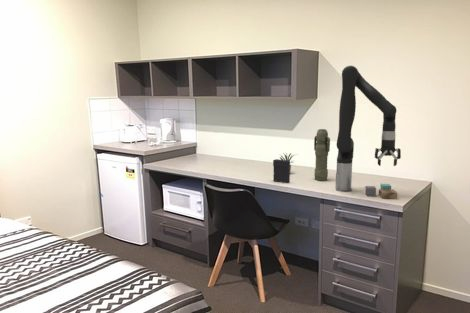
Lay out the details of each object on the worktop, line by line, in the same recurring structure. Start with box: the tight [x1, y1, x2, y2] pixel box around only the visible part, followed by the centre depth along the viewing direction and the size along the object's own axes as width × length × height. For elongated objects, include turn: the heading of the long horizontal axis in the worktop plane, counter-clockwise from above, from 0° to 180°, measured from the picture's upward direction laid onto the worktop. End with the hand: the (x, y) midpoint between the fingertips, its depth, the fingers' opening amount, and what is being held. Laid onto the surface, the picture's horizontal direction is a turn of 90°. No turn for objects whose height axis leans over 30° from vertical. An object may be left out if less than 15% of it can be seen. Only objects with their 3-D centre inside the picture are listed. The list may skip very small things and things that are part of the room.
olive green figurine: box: [313, 128, 331, 182], centre depth 265 cm, size 9×12×35 cm
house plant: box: [278, 152, 299, 172], centre depth 289 cm, size 14×14×16 cm
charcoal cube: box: [365, 185, 377, 197], centre depth 227 cm, size 5×5×5 cm
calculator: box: [272, 158, 291, 184], centre depth 262 cm, size 11×4×15 cm, turn 56°
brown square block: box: [378, 188, 398, 200], centre depth 222 cm, size 8×8×4 cm
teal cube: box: [379, 183, 392, 189], centre depth 232 cm, size 5×5×5 cm
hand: (387, 165), depth 230 cm, fingers open, 8 cm apart
